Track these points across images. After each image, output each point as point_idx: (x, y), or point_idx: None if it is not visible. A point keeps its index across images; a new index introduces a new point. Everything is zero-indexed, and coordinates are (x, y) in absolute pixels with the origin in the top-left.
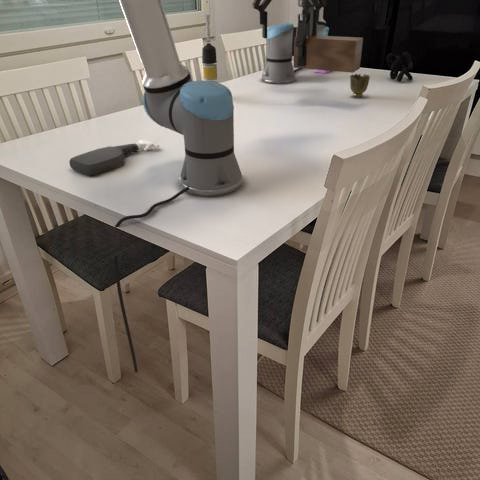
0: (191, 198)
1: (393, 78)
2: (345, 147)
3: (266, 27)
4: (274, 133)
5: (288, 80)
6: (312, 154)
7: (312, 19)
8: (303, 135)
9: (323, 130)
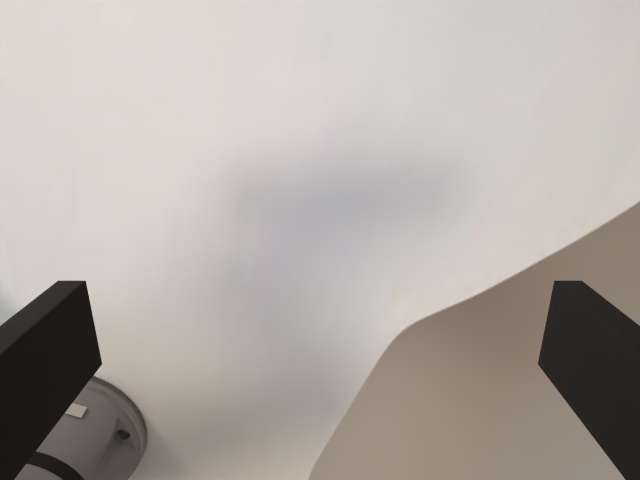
0: None
1: None
2: (467, 295)
3: (40, 433)
4: (290, 120)
5: None
6: (354, 323)
7: (635, 467)
8: (385, 165)
9: (476, 129)
